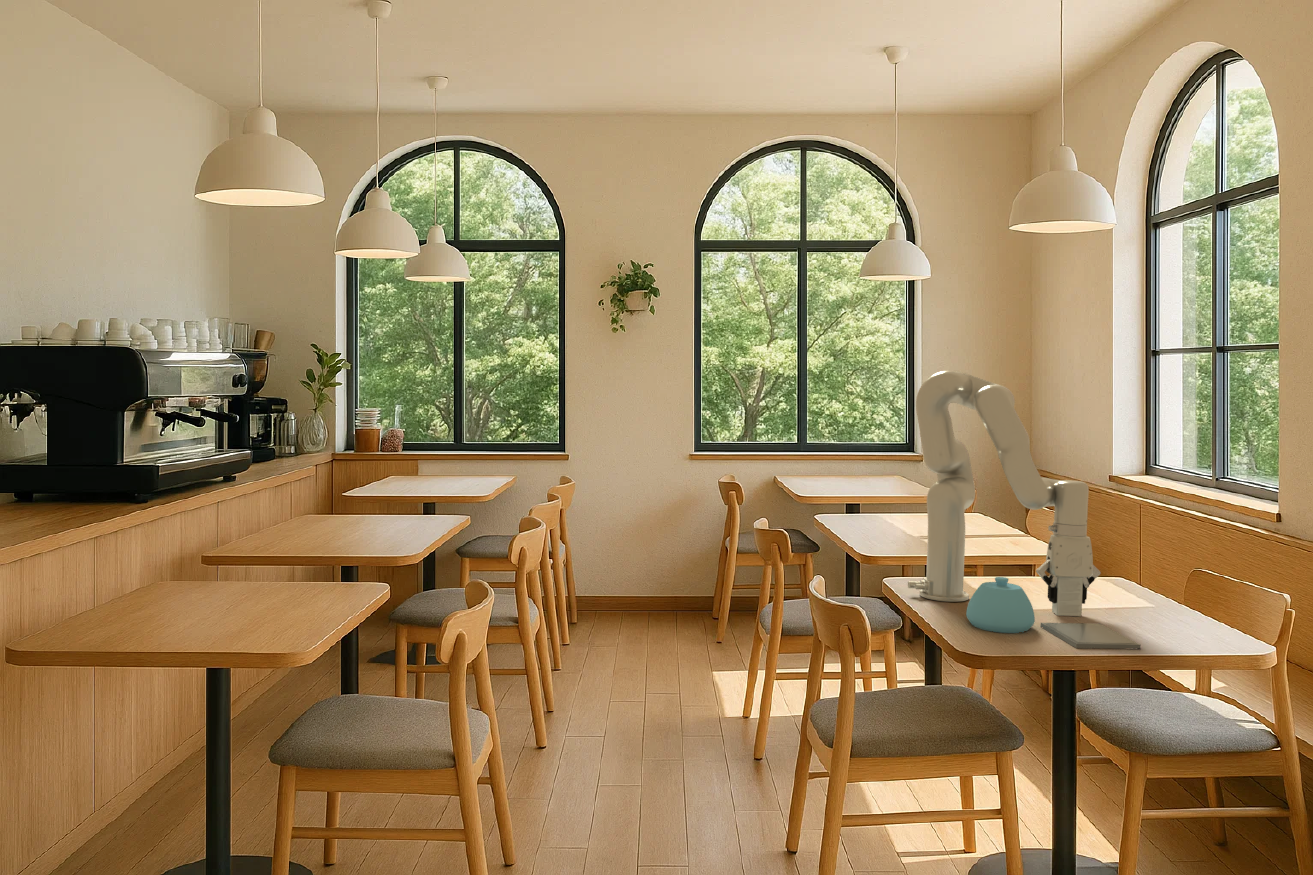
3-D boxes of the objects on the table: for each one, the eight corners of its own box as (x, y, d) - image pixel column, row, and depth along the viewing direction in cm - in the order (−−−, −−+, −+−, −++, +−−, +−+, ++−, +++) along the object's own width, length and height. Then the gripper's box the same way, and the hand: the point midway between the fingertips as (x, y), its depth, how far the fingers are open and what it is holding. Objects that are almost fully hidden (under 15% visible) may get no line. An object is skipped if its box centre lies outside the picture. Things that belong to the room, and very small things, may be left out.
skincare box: (1075, 612, 235) (1078, 565, 234) (1081, 616, 231) (1084, 568, 230) (1050, 611, 236) (1052, 564, 235) (1056, 615, 231) (1058, 567, 231)
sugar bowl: (952, 621, 224) (954, 573, 223) (1002, 616, 230) (1004, 569, 229) (996, 637, 210) (999, 586, 209) (1048, 632, 216) (1050, 582, 215)
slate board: (1076, 648, 202) (1076, 643, 202) (1040, 626, 220) (1040, 622, 220) (1140, 649, 202) (1140, 644, 202) (1099, 627, 220) (1099, 623, 220)
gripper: (1041, 532, 228) (1038, 605, 229) (1112, 533, 228) (1108, 606, 229) (1029, 527, 236) (1026, 598, 237) (1097, 528, 236) (1094, 599, 237)
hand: (1066, 601), depth 233 cm, fingers closed on skincare box, 6 cm apart
